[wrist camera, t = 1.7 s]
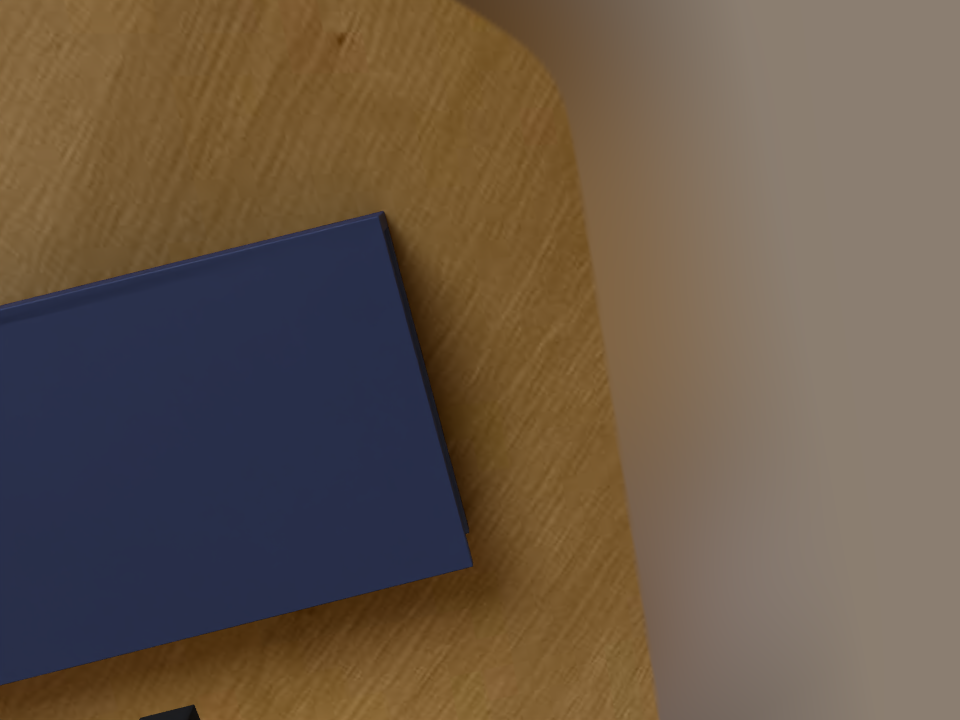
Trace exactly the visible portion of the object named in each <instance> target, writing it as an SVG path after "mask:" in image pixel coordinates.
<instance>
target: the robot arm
mask: <svg viewBox="0 0 960 720" xmlns="http://www.w3.org/2000/svg"><path fill="white" fill-rule="evenodd" d="M139 720H200V718H199V715H198V713H197V710H196V708H195V705H190V706H186V707H182V708H178V709H174V710H170V711H166V712H162V713H158V714H154V715H150V716H146V717H142V718H140V719H139Z"/></svg>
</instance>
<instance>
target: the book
mask: <svg viewBox="0 0 960 720" xmlns="http://www.w3.org/2000/svg"><path fill="white" fill-rule="evenodd" d="M467 533H469V527H468V523H467V520H466V516H465V512H464V508H463V505H462V501H461V497H460V493H459V490H458V486H457V482H456V479H455V475H454V471H453V467H452V464H451V460H450V456H449V452H448V449H447V445H446V441H445V437H444V434H443V430H442V426H441V422H440V419H439V415H438V411H437V408H436V404H435V400H434V396H433V393H432V389H431V385H430V381H429V378H428V374H427V370H426V366H425V363H424V359H423V355H422V351H421V348H420V344H419V340H418V337H417V333H416V329H415V325H414V322H413V318H412V314H411V310H410V307H409V303H408V299H407V295H406V292H405V288H404V284H403V280H402V277H401V273H400V269H399V266H398V262H397V258H396V254H395V251H394V247H393V243H392V239H391V236H390V232H389V228H388V224H387V221H386V217H385V213H384V211H381V212H377V213H373V214H369V215H365V216H361V217H357V218H353V219H349V220H345V221H341V222H337V223H332V224H328V225H324V226H320V227H316V228H312V229H308V230H304V231H300V232H296V233H292V234H288V235H284V236H280V237H276V238H272V239H268V240H264V241H260V242H256V243H252V244H248V245H244V246H240V247H235V248H231V249H227V250H223V251H219V252H215V253H211V254H207V255H203V256H199V257H195V258H191V259H187V260H183V261H179V262H175V263H171V264H167V265H163V266H159V267H155V268H151V269H147V270H143V271H138V272H134V273H130V274H126V275H122V276H118V277H114V278H110V279H106V280H102V281H98V282H94V283H90V284H86V285H82V286H78V287H74V288H70V289H66V290H62V291H58V292H54V293H50V294H46V295H41V296H37V297H33V298H29V299H25V300H21V301H17V302H13V303H9V304H5V305H1V306H0V685H3V684H7V683H11V682H15V681H19V680H23V679H27V678H31V677H35V676H39V675H43V674H47V673H51V672H55V671H59V670H63V669H67V668H71V667H75V666H79V665H83V664H87V663H91V662H95V661H99V660H103V659H107V658H111V657H115V656H119V655H123V654H127V653H131V652H135V651H139V650H143V649H147V648H151V647H155V646H159V645H163V644H167V643H171V642H174V641H178V640H182V639H186V638H190V637H194V636H198V635H202V634H206V633H210V632H214V631H218V630H222V629H226V628H230V627H234V626H238V625H242V624H246V623H250V622H254V621H258V620H262V619H266V618H270V617H274V616H278V615H282V614H286V613H290V612H294V611H298V610H302V609H306V608H310V607H314V606H318V605H322V604H326V603H330V602H334V601H338V600H342V599H346V598H349V597H353V596H357V595H361V594H365V593H369V592H373V591H377V590H381V589H385V588H389V587H393V586H397V585H401V584H405V583H409V582H413V581H417V580H421V579H425V578H429V577H433V576H437V575H441V574H445V573H449V572H453V571H457V570H461V569H465V568H469V567H472V566H473V560H472V557H471V553H470V549H469V546H468V542H467V538H466V534H467Z"/></svg>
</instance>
